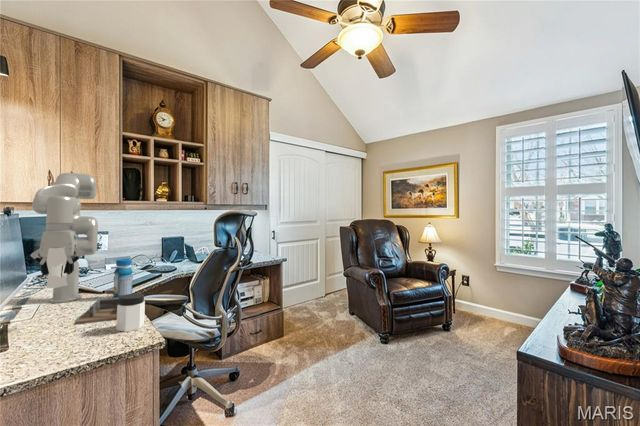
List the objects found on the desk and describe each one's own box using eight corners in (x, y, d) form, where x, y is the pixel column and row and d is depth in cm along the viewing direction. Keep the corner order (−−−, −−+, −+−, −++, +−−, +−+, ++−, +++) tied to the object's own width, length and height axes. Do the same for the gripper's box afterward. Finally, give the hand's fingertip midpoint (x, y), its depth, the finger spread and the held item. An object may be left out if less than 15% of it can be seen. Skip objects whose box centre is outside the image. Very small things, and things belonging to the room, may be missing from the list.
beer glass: (73, 285, 111) (75, 246, 112) (51, 289, 105) (53, 248, 105) (62, 283, 114) (63, 245, 114) (40, 287, 107) (41, 247, 107)
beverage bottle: (125, 299, 146) (126, 260, 146) (108, 299, 146) (110, 260, 146) (135, 295, 154) (137, 258, 155) (120, 295, 154) (121, 258, 155)
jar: (111, 329, 106) (112, 297, 106) (131, 322, 114) (132, 292, 114) (129, 333, 103) (130, 299, 104) (148, 325, 111) (149, 294, 111)
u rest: (90, 309, 129) (91, 298, 129) (137, 305, 137) (137, 294, 137) (75, 324, 111) (75, 311, 111) (129, 318, 119) (130, 306, 119)
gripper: (90, 227, 117) (88, 271, 116) (34, 227, 109) (32, 273, 109) (84, 228, 110) (82, 274, 110) (24, 228, 102) (22, 277, 102)
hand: (57, 273), depth 109 cm, fingers closed on beer glass, 6 cm apart
